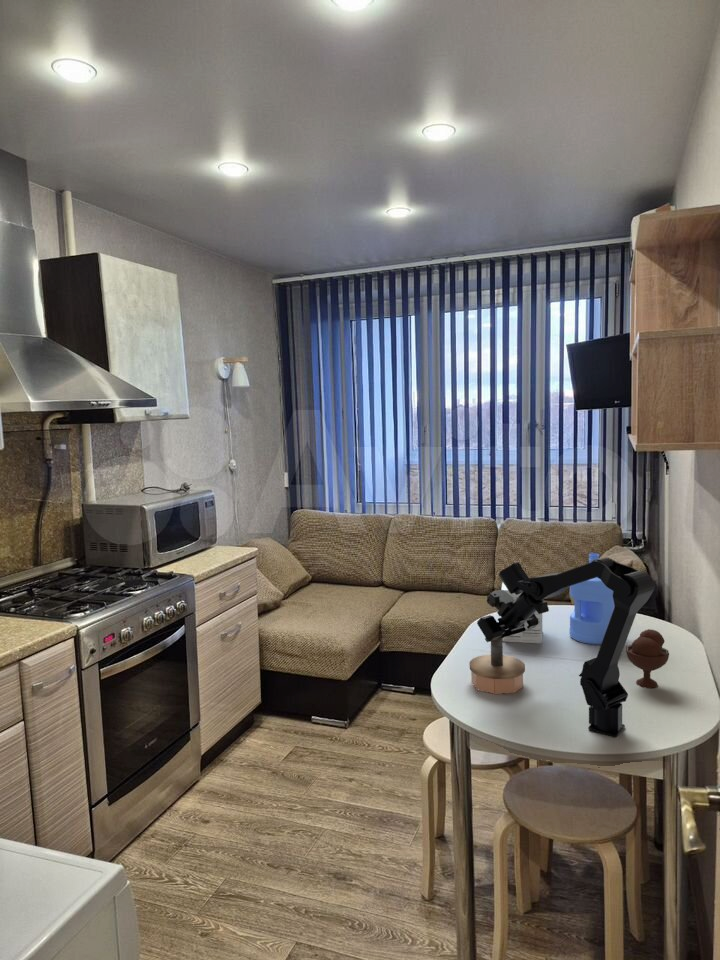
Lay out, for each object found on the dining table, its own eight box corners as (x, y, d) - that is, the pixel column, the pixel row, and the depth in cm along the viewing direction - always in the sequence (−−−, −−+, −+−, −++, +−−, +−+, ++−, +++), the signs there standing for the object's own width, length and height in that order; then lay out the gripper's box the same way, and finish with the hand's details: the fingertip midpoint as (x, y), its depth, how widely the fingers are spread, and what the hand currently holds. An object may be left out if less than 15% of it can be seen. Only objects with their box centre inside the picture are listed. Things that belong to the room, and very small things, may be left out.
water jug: (598, 627, 225) (597, 548, 223) (630, 641, 210) (630, 556, 208) (559, 633, 220) (559, 552, 218) (590, 648, 205) (589, 561, 203)
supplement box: (503, 629, 227) (502, 580, 225) (542, 631, 223) (541, 581, 222) (501, 642, 214) (500, 589, 212) (542, 644, 210) (542, 591, 209)
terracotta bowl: (529, 681, 180) (529, 666, 180) (507, 697, 170) (507, 681, 170) (487, 671, 188) (487, 656, 188) (464, 686, 178) (464, 670, 178)
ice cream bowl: (631, 673, 184) (631, 621, 182) (674, 682, 177) (674, 628, 175) (619, 685, 176) (619, 631, 174) (663, 695, 168) (663, 639, 167)
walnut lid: (520, 658, 186) (519, 615, 185) (529, 679, 171) (528, 632, 170) (467, 658, 187) (466, 615, 186) (471, 678, 172) (471, 632, 171)
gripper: (529, 577, 179) (500, 607, 189) (481, 588, 168) (453, 620, 178) (553, 611, 173) (521, 641, 183) (505, 625, 163) (474, 656, 173)
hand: (492, 638), depth 179 cm, fingers open, 5 cm apart
